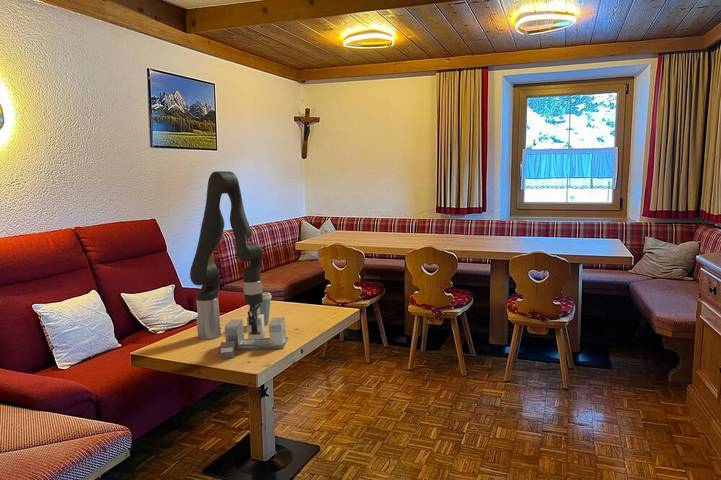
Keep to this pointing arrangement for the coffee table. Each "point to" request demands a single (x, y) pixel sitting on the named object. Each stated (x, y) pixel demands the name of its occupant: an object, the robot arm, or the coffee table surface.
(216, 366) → the coffee table surface
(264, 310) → the disposable coffee cup
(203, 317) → the robot arm
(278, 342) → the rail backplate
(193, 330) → the coffee table surface
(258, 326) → the block
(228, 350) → the block
